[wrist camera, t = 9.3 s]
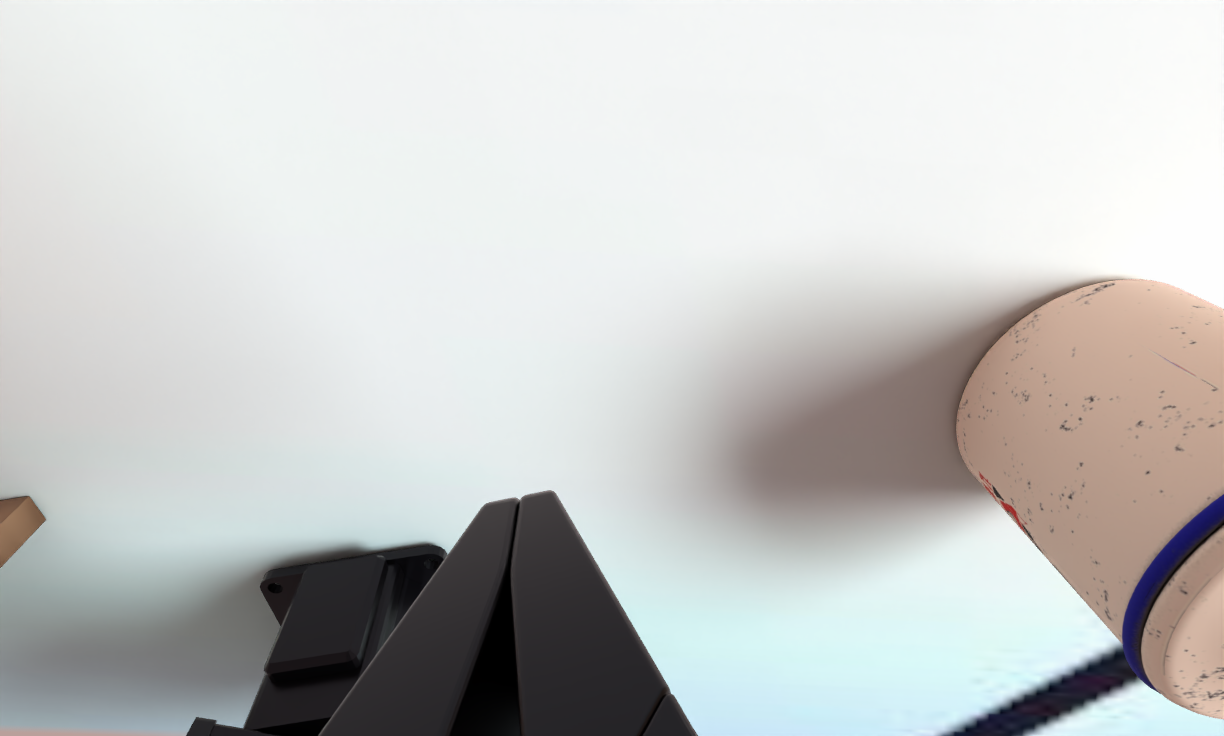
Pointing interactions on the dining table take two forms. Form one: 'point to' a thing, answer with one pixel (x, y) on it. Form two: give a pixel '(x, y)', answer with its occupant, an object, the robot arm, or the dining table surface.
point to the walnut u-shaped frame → (17, 524)
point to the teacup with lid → (1117, 466)
